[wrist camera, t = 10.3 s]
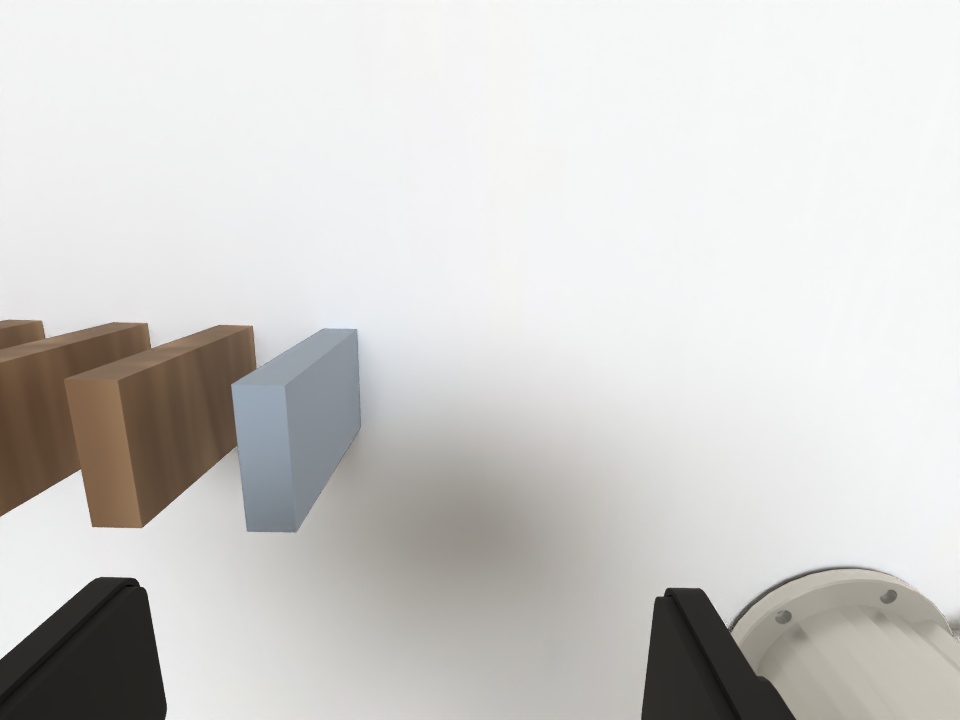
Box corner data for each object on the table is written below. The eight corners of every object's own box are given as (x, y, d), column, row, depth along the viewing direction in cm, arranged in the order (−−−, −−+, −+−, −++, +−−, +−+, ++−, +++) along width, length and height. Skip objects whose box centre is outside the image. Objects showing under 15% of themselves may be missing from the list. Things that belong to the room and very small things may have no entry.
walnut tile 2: (147, 323, 23) (-51, 376, 15) (161, 421, 25) (-14, 524, 16) (113, 322, 23) (-106, 374, 15) (129, 420, 25) (-64, 523, 16)
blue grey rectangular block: (356, 329, 23) (284, 385, 15) (360, 427, 25) (296, 532, 16) (323, 328, 23) (231, 384, 15) (329, 426, 25) (247, 531, 16)
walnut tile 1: (252, 326, 23) (117, 380, 15) (261, 423, 25) (141, 528, 16) (218, 325, 23) (63, 379, 15) (229, 423, 25) (92, 526, 16)
